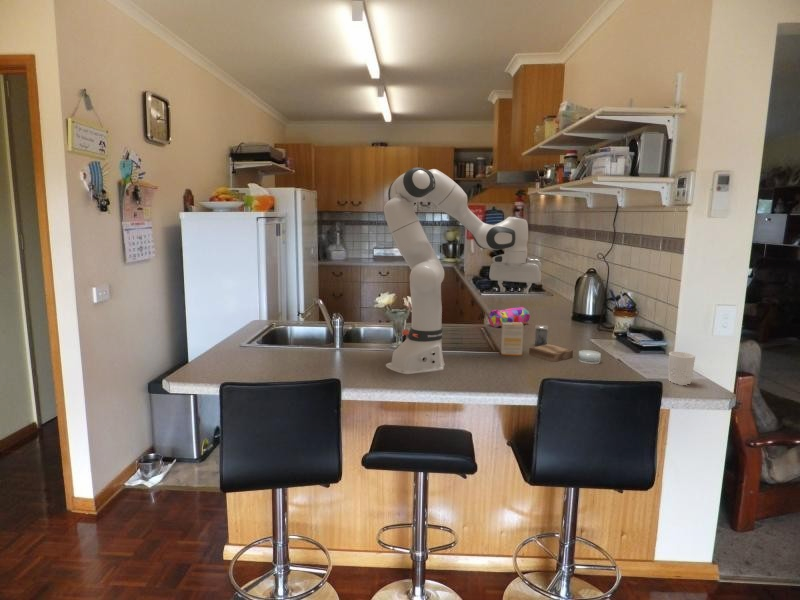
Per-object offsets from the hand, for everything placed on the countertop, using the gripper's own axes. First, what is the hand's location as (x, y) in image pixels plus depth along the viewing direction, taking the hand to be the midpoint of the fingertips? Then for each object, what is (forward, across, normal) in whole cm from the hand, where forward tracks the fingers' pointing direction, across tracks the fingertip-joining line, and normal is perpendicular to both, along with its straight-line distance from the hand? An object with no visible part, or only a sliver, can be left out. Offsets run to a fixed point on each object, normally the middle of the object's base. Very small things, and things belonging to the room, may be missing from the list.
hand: (514, 292), depth 208 cm
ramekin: (+26, -29, -6) cm, 39 cm away
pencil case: (+26, +18, -54) cm, 63 cm away
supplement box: (+26, 0, 0) cm, 26 cm away
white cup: (+26, -60, +5) cm, 66 cm away
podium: (+25, -14, -5) cm, 30 cm away
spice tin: (+25, -7, -20) cm, 33 cm away
